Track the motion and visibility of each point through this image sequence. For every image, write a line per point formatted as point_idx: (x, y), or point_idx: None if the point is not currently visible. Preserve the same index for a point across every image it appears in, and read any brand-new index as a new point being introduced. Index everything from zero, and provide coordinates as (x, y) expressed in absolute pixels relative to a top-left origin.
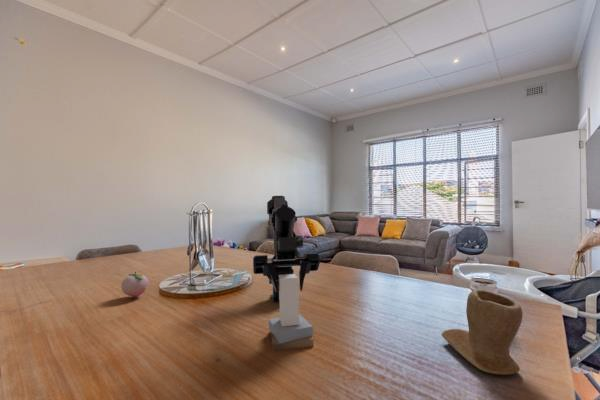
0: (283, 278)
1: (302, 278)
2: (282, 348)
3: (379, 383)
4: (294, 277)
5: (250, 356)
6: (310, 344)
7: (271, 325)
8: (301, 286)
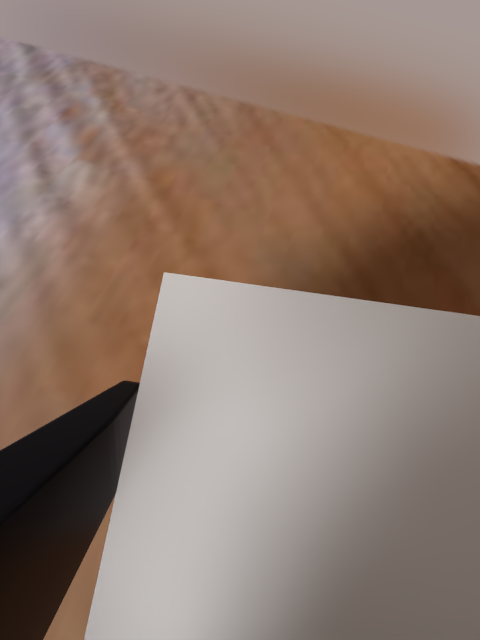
0: (448, 340)
1: (22, 460)
2: None
3: (94, 97)
4: (220, 314)
5: None
6: None
7: None
8: (119, 394)
